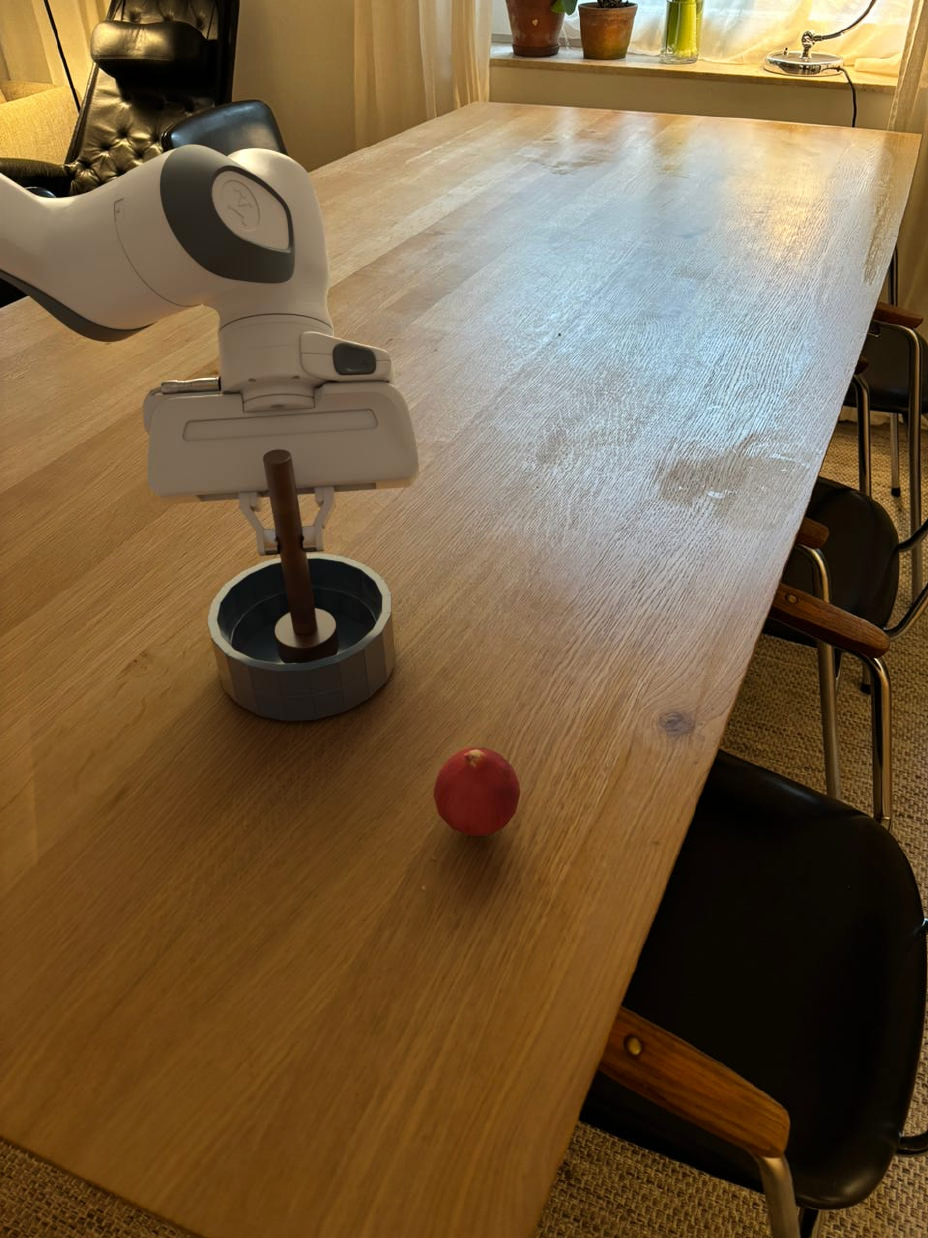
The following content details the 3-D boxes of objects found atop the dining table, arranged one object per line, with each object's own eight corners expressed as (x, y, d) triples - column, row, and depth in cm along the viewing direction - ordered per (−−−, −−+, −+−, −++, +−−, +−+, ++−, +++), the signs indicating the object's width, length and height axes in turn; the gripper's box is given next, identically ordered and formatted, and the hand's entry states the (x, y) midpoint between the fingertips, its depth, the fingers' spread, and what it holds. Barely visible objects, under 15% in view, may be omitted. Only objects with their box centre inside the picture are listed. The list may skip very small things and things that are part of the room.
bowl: (239, 747, 76) (225, 691, 72) (207, 630, 87) (194, 576, 83) (419, 697, 80) (415, 641, 76) (368, 591, 90) (362, 537, 86)
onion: (463, 782, 73) (461, 706, 68) (533, 813, 71) (536, 737, 65) (421, 838, 69) (415, 762, 64) (492, 873, 67) (492, 797, 62)
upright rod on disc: (285, 676, 79) (248, 481, 67) (272, 637, 83) (234, 446, 71) (346, 660, 81) (320, 466, 69) (330, 623, 84) (303, 432, 72)
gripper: (129, 368, 72) (140, 557, 71) (410, 350, 73) (425, 535, 72) (151, 395, 78) (162, 568, 77) (410, 378, 79) (424, 549, 78)
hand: (292, 552), depth 75 cm, fingers closed on upright rod on disc
